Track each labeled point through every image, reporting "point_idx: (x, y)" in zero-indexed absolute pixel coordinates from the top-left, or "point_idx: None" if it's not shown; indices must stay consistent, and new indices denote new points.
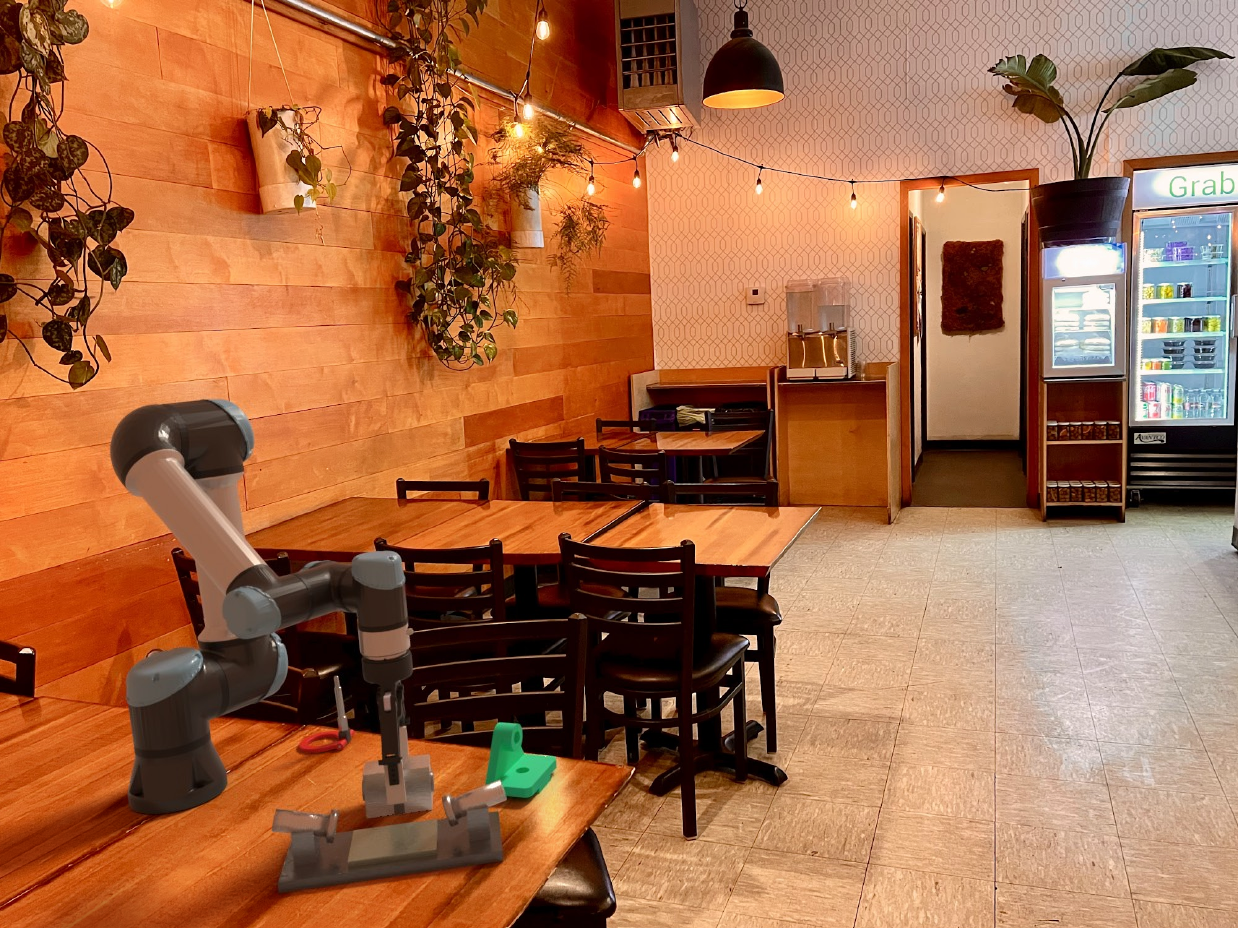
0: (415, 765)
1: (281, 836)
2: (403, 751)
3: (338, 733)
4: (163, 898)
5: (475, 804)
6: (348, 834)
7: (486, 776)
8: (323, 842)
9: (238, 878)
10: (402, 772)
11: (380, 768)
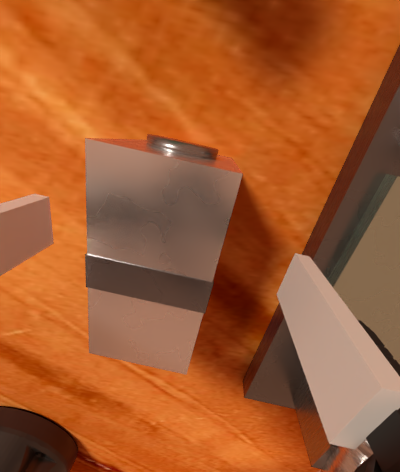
0: (192, 225)
1: (195, 384)
2: (6, 228)
3: None
4: (276, 468)
5: None
6: (285, 339)
7: None
8: (288, 370)
9: (282, 427)
10: (364, 333)
11: (158, 329)
